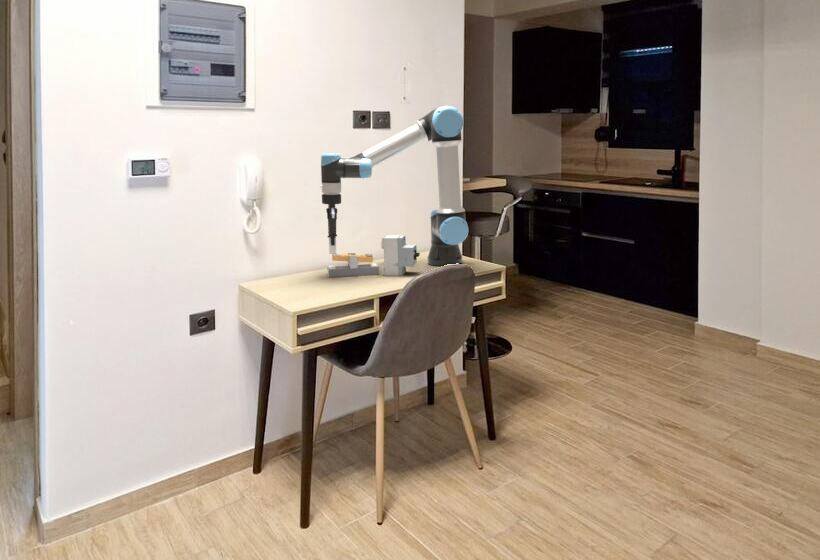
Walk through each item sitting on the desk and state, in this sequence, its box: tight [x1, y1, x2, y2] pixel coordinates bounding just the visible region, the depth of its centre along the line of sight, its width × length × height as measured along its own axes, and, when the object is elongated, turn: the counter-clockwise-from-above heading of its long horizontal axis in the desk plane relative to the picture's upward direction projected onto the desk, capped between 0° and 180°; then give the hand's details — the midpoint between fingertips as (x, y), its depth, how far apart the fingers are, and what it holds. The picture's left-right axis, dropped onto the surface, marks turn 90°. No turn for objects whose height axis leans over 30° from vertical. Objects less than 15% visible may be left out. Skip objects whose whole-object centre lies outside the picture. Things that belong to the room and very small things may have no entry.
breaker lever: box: [331, 252, 374, 263], centre depth 259 cm, size 16×5×3 cm, turn 102°
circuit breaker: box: [380, 234, 421, 277], centre depth 257 cm, size 8×14×15 cm, turn 78°
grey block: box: [326, 252, 380, 278], centre depth 259 cm, size 20×7×8 cm, turn 101°
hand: (332, 253), depth 257 cm, fingers closed
